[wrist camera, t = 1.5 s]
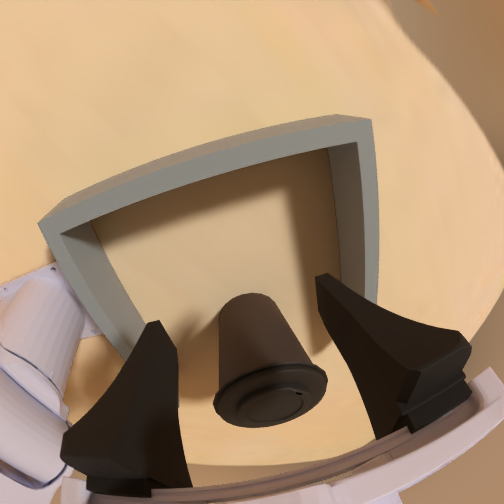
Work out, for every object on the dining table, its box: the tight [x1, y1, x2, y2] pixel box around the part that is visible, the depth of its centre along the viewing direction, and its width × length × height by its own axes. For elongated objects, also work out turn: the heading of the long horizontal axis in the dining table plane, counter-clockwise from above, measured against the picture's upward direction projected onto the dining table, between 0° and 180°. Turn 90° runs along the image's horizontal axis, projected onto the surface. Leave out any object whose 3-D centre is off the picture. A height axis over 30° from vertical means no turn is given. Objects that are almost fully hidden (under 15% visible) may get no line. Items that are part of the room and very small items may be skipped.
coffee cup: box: [213, 293, 328, 428], centre depth 21 cm, size 8×8×10 cm
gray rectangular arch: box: [37, 114, 379, 408], centre depth 21 cm, size 20×20×4 cm
